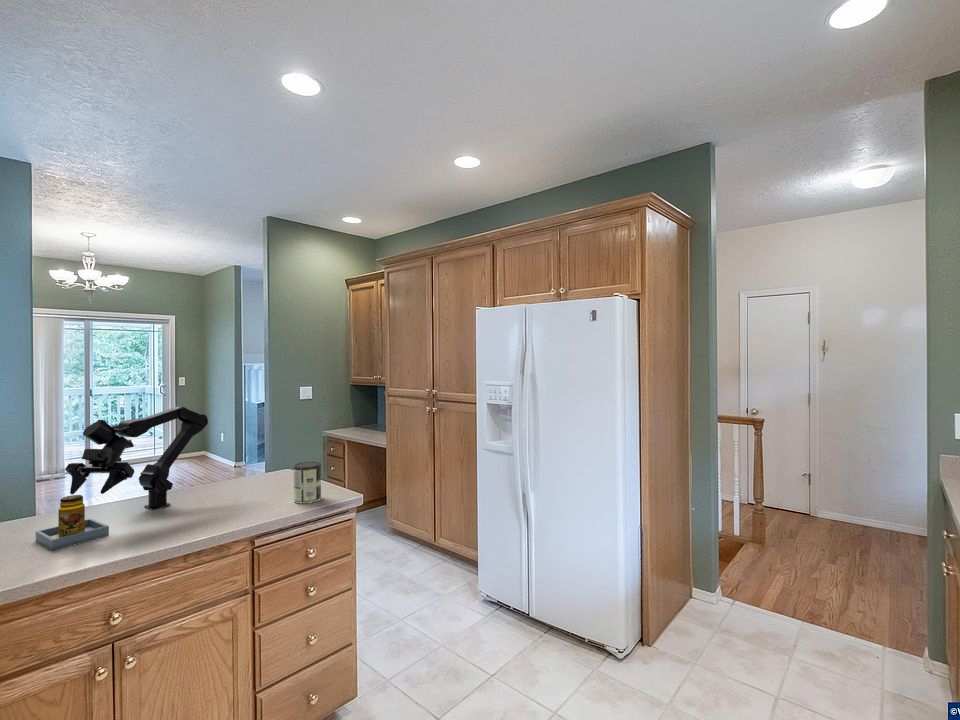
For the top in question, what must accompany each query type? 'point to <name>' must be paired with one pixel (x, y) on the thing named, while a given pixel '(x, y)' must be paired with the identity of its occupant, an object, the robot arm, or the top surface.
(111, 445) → the robot arm
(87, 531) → the bin
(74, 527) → the condiment
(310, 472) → the coffee can
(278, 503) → the top surface
